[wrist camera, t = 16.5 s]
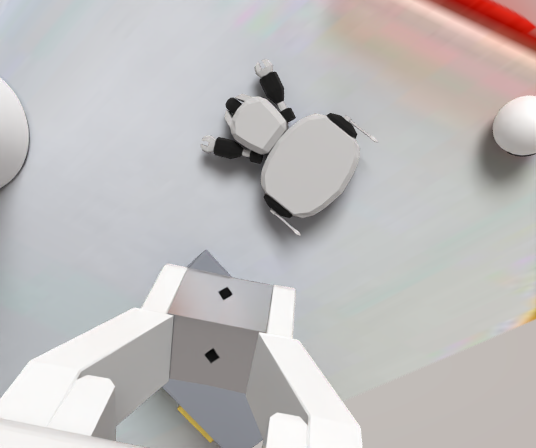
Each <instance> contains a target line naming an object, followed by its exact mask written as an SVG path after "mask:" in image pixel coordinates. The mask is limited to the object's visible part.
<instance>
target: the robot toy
mask: <svg viewBox="0 0 536 448" xmlns="http://www.w3.org/2000/svg"><path fill="white" fill-rule="evenodd" d="M262 62H263V63H264V65H265V67H266V68H264V69H261V66H260V63H259V62H258V63H256V66H255V72H256V74H257V75H258V76H259V77H260V78H261V79H260V83H261V85H262V87H263V90H264V92H265V94H266V96H267V97H268V98H269V99H270V100H272V101H273V102H274V103H276V104H277V105H278V107H279V109H280V111H281V112H279V111H278V110H277V109H276V108H275V107H274V106H273V105H272V104H271V103H270V102H269V101H268V100H267V99H265V98H262V97H259V96H257V97H251V96H248V95H245V94H241V95H239V96H237V97H235V98H236V99H238V100H239V101H242V102H244V103H243V104H241V103H240V102H239V101H238V100H236V99H235V98H230V99H228V101H227V102H226V108H227V109H228V110H229V111H228V110H226V112H225V120H226V121H227V123H228V125H229V126H230V129H231V134H232V135H233V137H234V139H235V140H236V141H237V142H239V143H240V144H242V145H243V146H245V147H247V148H248V149H250V150H246V149H244V148H242V147H241V146H240V145H239V144H238V143H237V142H235V141H233V140H229V139H225V138H220V137H218V138H217V139H215V138H214V137H213V136H212V135H206V136H204V137H203V138H202V141H207V142H209V144H208V146H206V145H203V144H201V148H202V150H203V151H205V152H207V153H211V152H214V154H215V155H217V156H221V157H225V158H229V159H232V158H237V157H241V156H245V157H249V159H250V161H251V162H255V163H259V164H260V163H261V162H262V158H263V155H264V154H268V153H269V155H268V157H267V159H266V161H265V164H264V166H263V169H262V173H261V186H262V188H263V190H264V192H265V196H264V199H265V200H266V202H267V204H268V206H269V207H270V208H272V209H271V210H270V212H272V213H273V214H274V215H276V216H278V217H279V218H280V219H281V220H282V221H283V222H284V223H285V224H287V225H288V226H289V227H290V228H291V229H292V230H293V231H294V232H295V233H296V234H297V235H300V232H299V231H297V230H296V229H294V228H293V227H292V226H291V225H290V224H289V223H288V222H287V221H286V220H284V219H283V218H282V217H281V216H284V217H288V218H290V217H292V216H296V217H300V218H305V217H309V216H313V215H315V214H317V213H318V212H320V211H321V210H323V209H324V208H326V207H327V206H328V205H329V204H330V203H332V202H333V201H334V200H335V199H336V198H337V197H338V196H340V195H341V194H342V192H343V191H344V189H345V188H346V186H347V184H348V183H349V181H350V179H351V178H352V176H353V174H354V172H355V169H356V167H357V165H358V161H359V154H360V148H359V146H358V143H357V141H356V136H357V133H356V131H355V129H354V127H353V125H354V126H355V127H357V128H358V129H359V130H361V131H362V132H363V133H364V134H366V135H367V136H368V137H370V138H371V139H372V140H373V141H374V142H378V141H377V139H376V138H374V137H373V136H371V135H370V134H368V133H367V132H366V131H364V130H363V129H362V128H360V127H359V126H358V125H356V124H355V123H354V122H352V121H351V119H350V118H349V117H348V116H345V117H344V118H343V117H342V116H340V115H336V114H332V113H330V114H328V115H327V116H325V115H321V114H312V115H309V116H306V117H304V118H302V119H300V120H299V121H298V122H296V123H295V124H294V125H292V126H291V127H290V128H289V129H288V122H290V121H292V120H293V119H295V118H296V117H295V115H294V113H293V111H292V109H291V108H287V107H286V105H285V103H284V87H283V85H282V83H281V81H280V79H279V77H278V75H277V73H276V72H273V65H272V63H271V62H270V61H269V60H267V59H263V60H262ZM232 113H233V114H234V116H233V114H232ZM352 124H353V125H352ZM280 215H281V216H280ZM300 236H301V235H300Z"/></svg>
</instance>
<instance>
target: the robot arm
mask: <svg viewBox="0 0 536 448" xmlns="http://www.w3.org/2000/svg"><path fill="white" fill-rule="evenodd" d="M28 143H29V131H28V123H27V119H26V115H25V112H24V110H23V107H22V105H21V103H20V101H19V99H18V98H17V96H16V94H15V93H14V92H13V90H12V89H11V88H10V87H9V85H8V84H7V83H6V82H5V81H4V80H3V79H1V78H0V188H1V187H3V186H4V185H6V184H7V183H8V182H10V181H11V180H12V179H13V178H14V177H15V176H16V174H17V173H18V172H19V170H20V169H21V167H22V165H23V163H24V160H25V158H26V154H27V150H28ZM295 297H296V290H295V288H291V287H285V286H279V285H269V284H264V283H259V282H254V281H249V280H243V279H238V278H233V277H230V276H225V275H221V274H216V273H211V272H207V271H202V270H198V269H193V268H187V267H183V266H178V265H174V264H169V263H167V264H166V265H165V266H163V268H162V270H161V272H160V274H159V276H158V277H157V279H156V281H155V283H154V285H153V287H152V288H151V290H150V292H149V294H148V296H147V298H146V299H145V301H144V303H143V305H142V307H141V309H139V308H132V309H130V310H128V311H126V312H124V313H122V314H120V315H118V316H116V317H114V318H113V319H111V320H109V321H107V322H105V323H103V324H101V325H99V326H97V327H95V328H93V329H91V330H89V331H87V332H85V333H83V334H81V335H79V336H77V337H75V338H73V339H71V340H70V341H68V342H66V343H64V344H62V345H60V346H58V347H56V348H54V349H52V350H50V351H48V352H46V353H44V354H42V355H40V356H38V357H36V358H34V359H32V360H30V361H29V362H28V364H27V365H26V366H25V368H24V369H23V370H22V372H21V373H20V374H19V375H18V377H17V378H16V379H15V381H14V382H13V383H12V385H11V386H10V387H9V389H8V390H7V391H6V392H5V394H4V395H3V396H2V398H1V399H0V448H148V447H143V446H138V445H133V444H128V443H123V442H118V441H116V426H117V425H118V424H119V423H121V422H122V421H123V420H124V419H125V418H126V417H127V416H129V415H130V414H131V413H132V412H133V411H134V410H136V409H137V408H138V407H139V406H140V405H141V404H143V403H144V402H145V401H146V400H147V399H148V398H150V397H151V396H152V395H153V394H154V393H155V392H157V391H158V390H159V389H160V388H161V387H162V386H164V385H165V384H166V383H167V382H168V381H169V379H174V380H180V381H185V382H191V383H197V384H203V385H209V386H213V387H217V388H222V389H226V390H231V391H235V392H239V393H244V394H246V398H247V401H248V403H249V406H250V408H251V411H252V413H253V416H254V418H255V421H256V423H257V426H258V428H259V431H260V433H261V435H262V438H263V440H264V441H263V445H262V448H362V437H361V427H360V426H359V425H358V423H357V422H356V420H355V419H354V417H353V416H352V415H351V413H350V412H349V410H348V409H347V408H346V406H345V405H344V403H343V402H342V400H341V399H340V397H339V396H338V395H337V393H336V392H335V390H334V389H333V388H332V386H331V385H330V383H329V382H328V380H327V379H326V378H325V376H324V375H323V373H322V372H321V371H320V369H319V368H318V366H317V365H316V363H315V362H314V361H313V359H312V358H311V356H310V355H309V353H308V352H307V351H306V349H305V348H304V346H303V345H302V344H301V342H300V341H299V340H296V339H293V327H294V312H295Z"/></svg>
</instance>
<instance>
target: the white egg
mask: <svg viewBox="0 0 536 448" xmlns="http://www.w3.org/2000/svg"><path fill="white" fill-rule="evenodd" d="M493 136H494V138H495V140H496V143H497V144H498V145H499V146H500V147H501V148H502V149H504V150H506V151H508V152H507V153H509V154H512V155H515V156H531V155H534V154H536V96H530V95H528V96H522V97H518V98H516V99H514V100H512V101H510V102H508V103H507V104H505V105H504V106H503V107H502V108H501V109H500V110H499V112H498V113H497V115H496V117H495V119H494V123H493Z"/></svg>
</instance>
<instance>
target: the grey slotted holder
mask: <svg viewBox="0 0 536 448" xmlns="http://www.w3.org/2000/svg"><path fill="white" fill-rule="evenodd" d="M187 268H193V269H198V270H202V271H207V272H211V273H216V274H221V275H225V276H230V275H229V274H228V272H227V271H226V270H225V269H224V268H223V267H222V266H221V265H220V264H219V263H218V262H217V261H216V260H215V259H214V257H213V256H212V255H211V254H210V253H209V252H208V251H207V250H205V251H204V252H203V253H201V254H200V255H199V256H198V257H197V258H196V259H195V260H194V261H193V262H191V263H190V264H189V265H188V266H187ZM230 277H231V276H230ZM162 388H163V389H164V390H165V391H166V392H167V393H168V394H169V395H170V396H171V397H172V398H173V399H174V400H175V401H176V402H177V403H178V404H179V405H180V406H181V407H182V408H183V409H184V410H185V411H186V412H187V413H188V414H189V415H190V416H191V417H192V418H193V419H194V420H195V421H196V422H197V423H198V424H199V425H200V426H201V427H202V428H203V429H204V430H205V431H206V432H207V433H208V435H209V436H210V437H211V438H212V439H213V440H214V441H215V442H216V443H217V444H218V445H219V446H220V447H221V448H252V447H254V446H255V445H256V444H258V443H259V442H260V441H262V440H263V438H262V435H261V433H260V431H259V428H258V426H257V423H256V421H255V418H254V416H253V413H252V411H251V408H250V406H249V403H248V401H247V398H246V394H244V393H239V392H235V391H231V390H226V389H222V388H217V387H213V386H209V385H203V384H197V383H191V382H185V381H180V380H174V379H169V381H168V382H167V383H166V384H165V385H164V386H162Z"/></svg>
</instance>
